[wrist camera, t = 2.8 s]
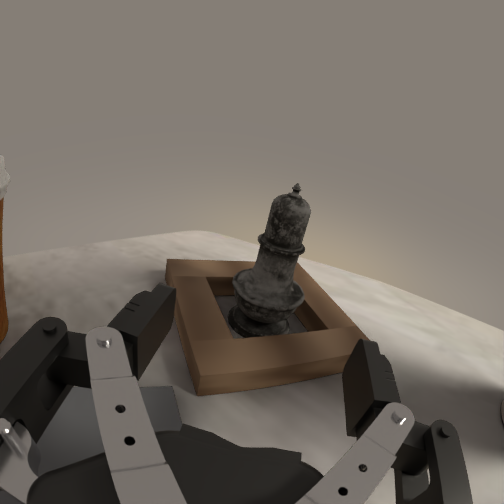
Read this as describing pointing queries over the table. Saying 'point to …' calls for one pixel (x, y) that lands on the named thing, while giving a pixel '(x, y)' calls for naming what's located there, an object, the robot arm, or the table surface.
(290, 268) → the black chess piece
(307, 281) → the walnut holder
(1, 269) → the disposable coffee cup
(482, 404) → the table surface
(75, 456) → the charcoal coaster
